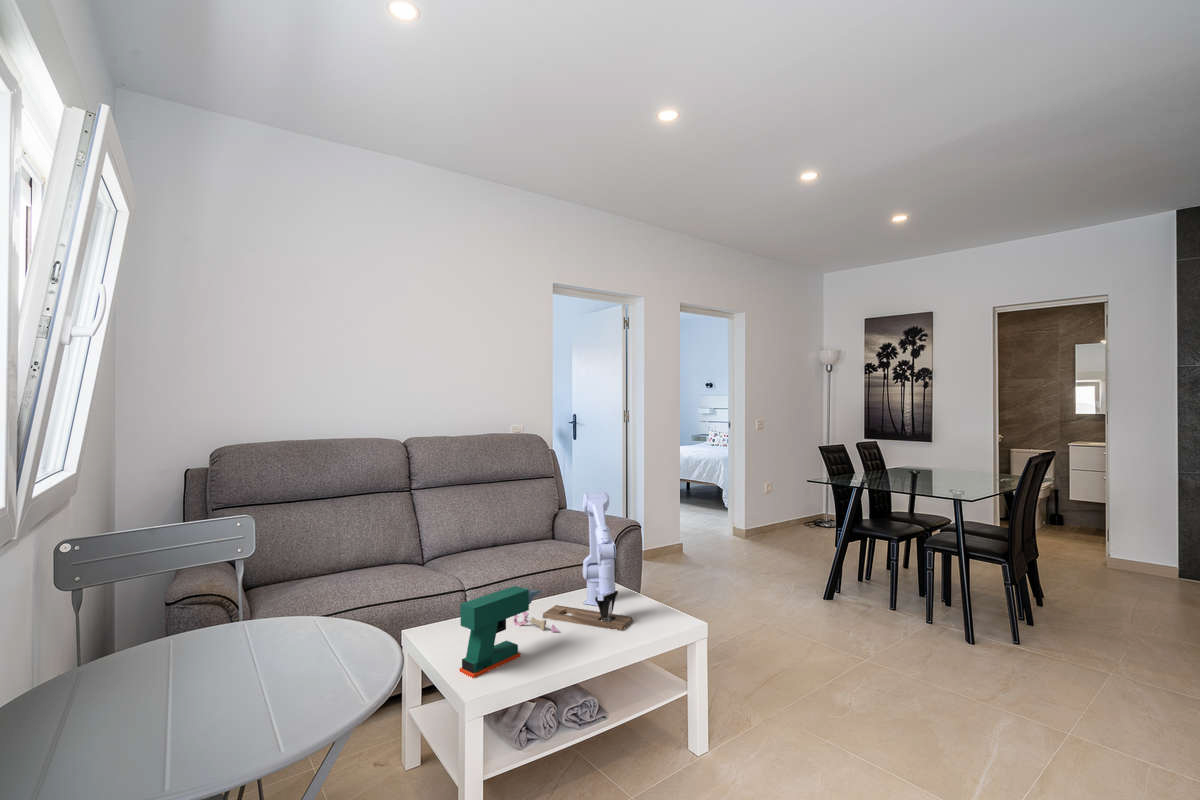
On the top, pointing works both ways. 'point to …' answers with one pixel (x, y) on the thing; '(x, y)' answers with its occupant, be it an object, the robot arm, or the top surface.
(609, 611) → the steel rod
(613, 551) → the robot arm
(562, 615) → the walnut board
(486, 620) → the power tool
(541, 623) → the decorative key
